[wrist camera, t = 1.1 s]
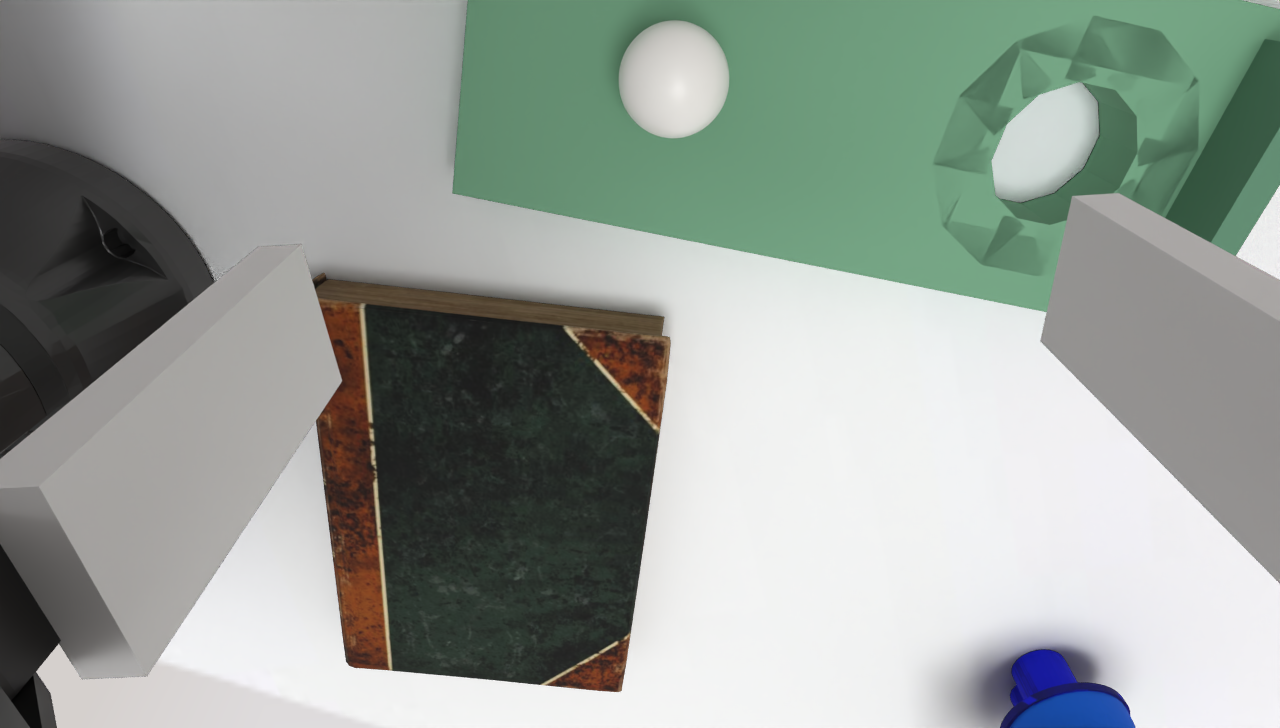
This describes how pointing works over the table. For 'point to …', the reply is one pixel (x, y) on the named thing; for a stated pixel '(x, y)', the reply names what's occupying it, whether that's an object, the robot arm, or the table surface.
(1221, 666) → the table surface
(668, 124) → the ball
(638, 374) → the book
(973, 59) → the green
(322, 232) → the table surface
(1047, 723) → the toy
